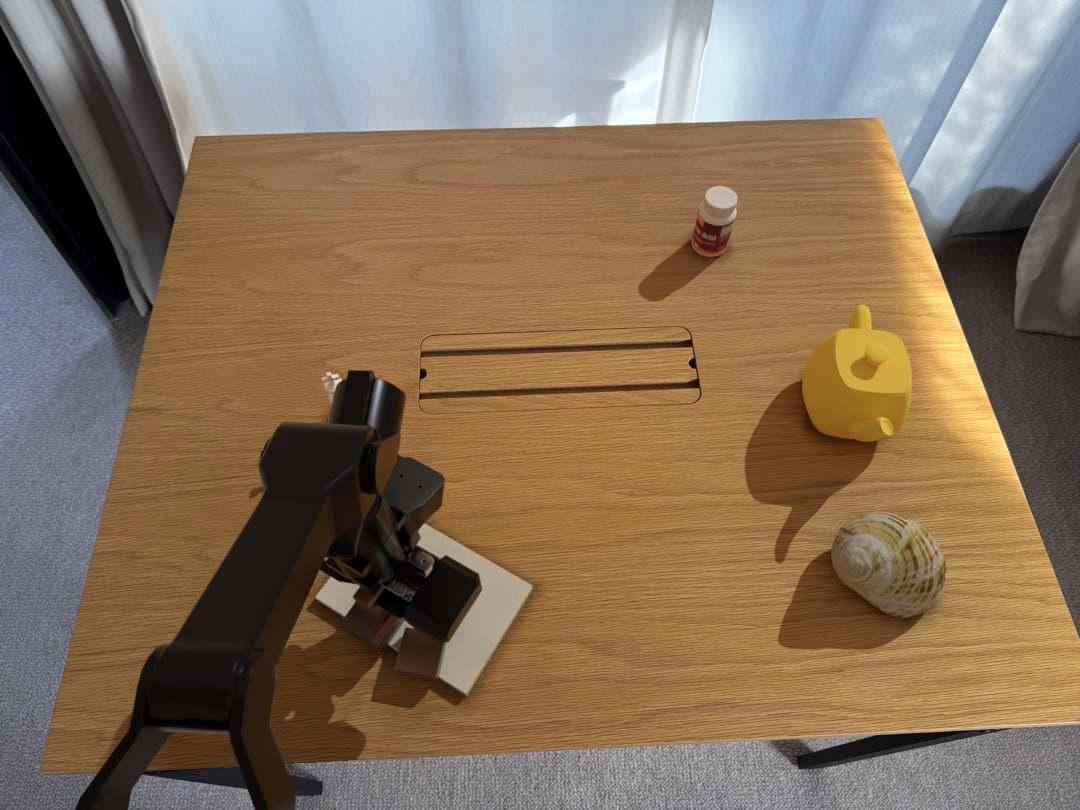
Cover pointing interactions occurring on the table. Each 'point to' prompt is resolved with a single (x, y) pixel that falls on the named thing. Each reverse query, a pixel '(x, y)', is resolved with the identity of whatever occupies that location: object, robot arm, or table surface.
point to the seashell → (890, 563)
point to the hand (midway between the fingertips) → (390, 589)
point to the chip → (419, 655)
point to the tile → (479, 625)
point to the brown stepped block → (372, 619)
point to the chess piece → (331, 384)
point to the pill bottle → (715, 221)
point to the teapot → (858, 382)
